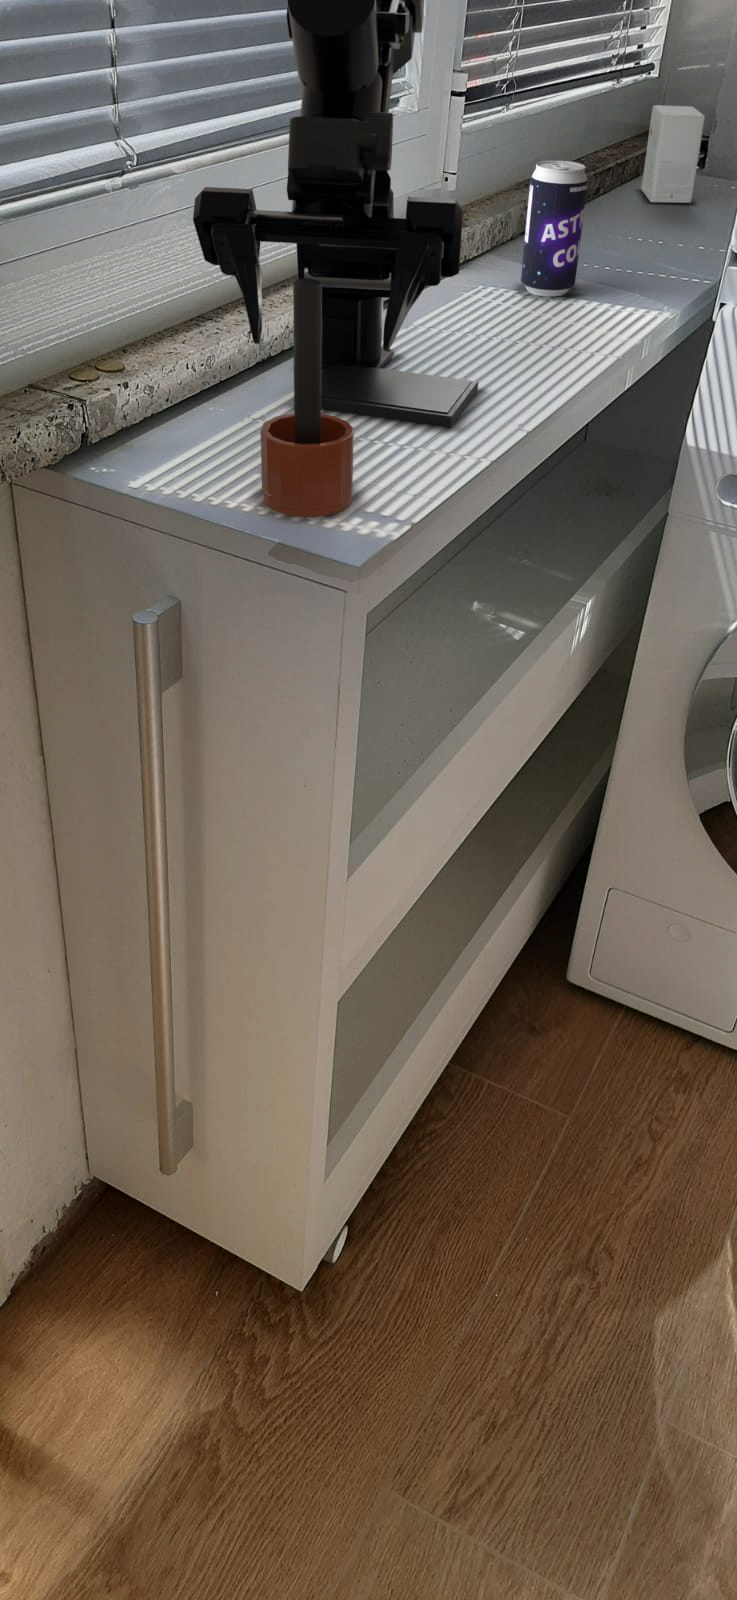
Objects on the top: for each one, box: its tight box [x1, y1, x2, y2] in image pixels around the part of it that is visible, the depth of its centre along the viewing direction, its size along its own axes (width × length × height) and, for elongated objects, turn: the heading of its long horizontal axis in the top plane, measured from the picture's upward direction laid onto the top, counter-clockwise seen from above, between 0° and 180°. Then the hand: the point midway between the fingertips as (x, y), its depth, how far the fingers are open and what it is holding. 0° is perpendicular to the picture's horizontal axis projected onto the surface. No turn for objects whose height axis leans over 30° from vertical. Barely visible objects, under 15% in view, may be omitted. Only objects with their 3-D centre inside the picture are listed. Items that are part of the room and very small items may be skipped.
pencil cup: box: [260, 412, 355, 518], centre depth 87 cm, size 6×6×5 cm
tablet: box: [321, 364, 479, 428], centre depth 104 cm, size 9×13×1 cm
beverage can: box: [520, 160, 589, 298], centre depth 129 cm, size 6×6×12 cm
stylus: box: [292, 279, 322, 444], centre depth 84 cm, size 2×2×14 cm
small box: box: [640, 104, 706, 204], centre depth 168 cm, size 8×6×10 cm
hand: (320, 344), depth 88 cm, fingers open, 9 cm apart
